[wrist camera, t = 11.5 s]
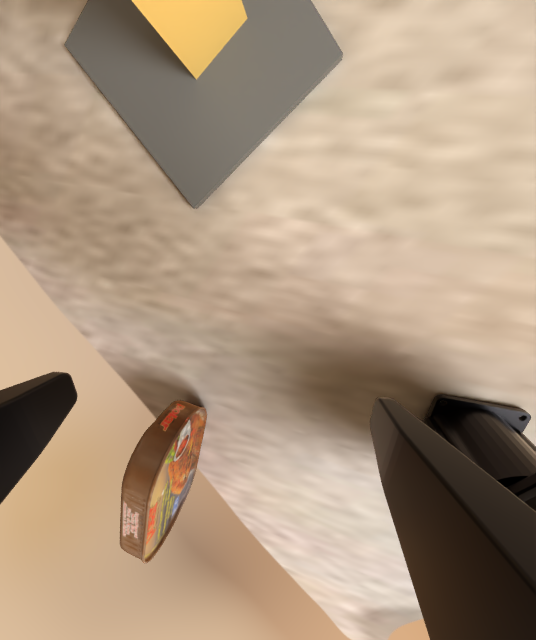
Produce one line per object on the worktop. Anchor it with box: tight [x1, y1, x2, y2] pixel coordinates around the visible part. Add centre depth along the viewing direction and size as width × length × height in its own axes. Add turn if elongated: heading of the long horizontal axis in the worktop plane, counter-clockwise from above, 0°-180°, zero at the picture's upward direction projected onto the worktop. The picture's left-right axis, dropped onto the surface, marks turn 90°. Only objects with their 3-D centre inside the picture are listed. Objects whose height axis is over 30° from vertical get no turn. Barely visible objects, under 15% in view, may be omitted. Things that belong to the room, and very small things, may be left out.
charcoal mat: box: [64, 0, 343, 209], centre depth 15 cm, size 12×12×1 cm
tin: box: [120, 400, 207, 563], centre depth 23 cm, size 15×3×8 cm, turn 165°
